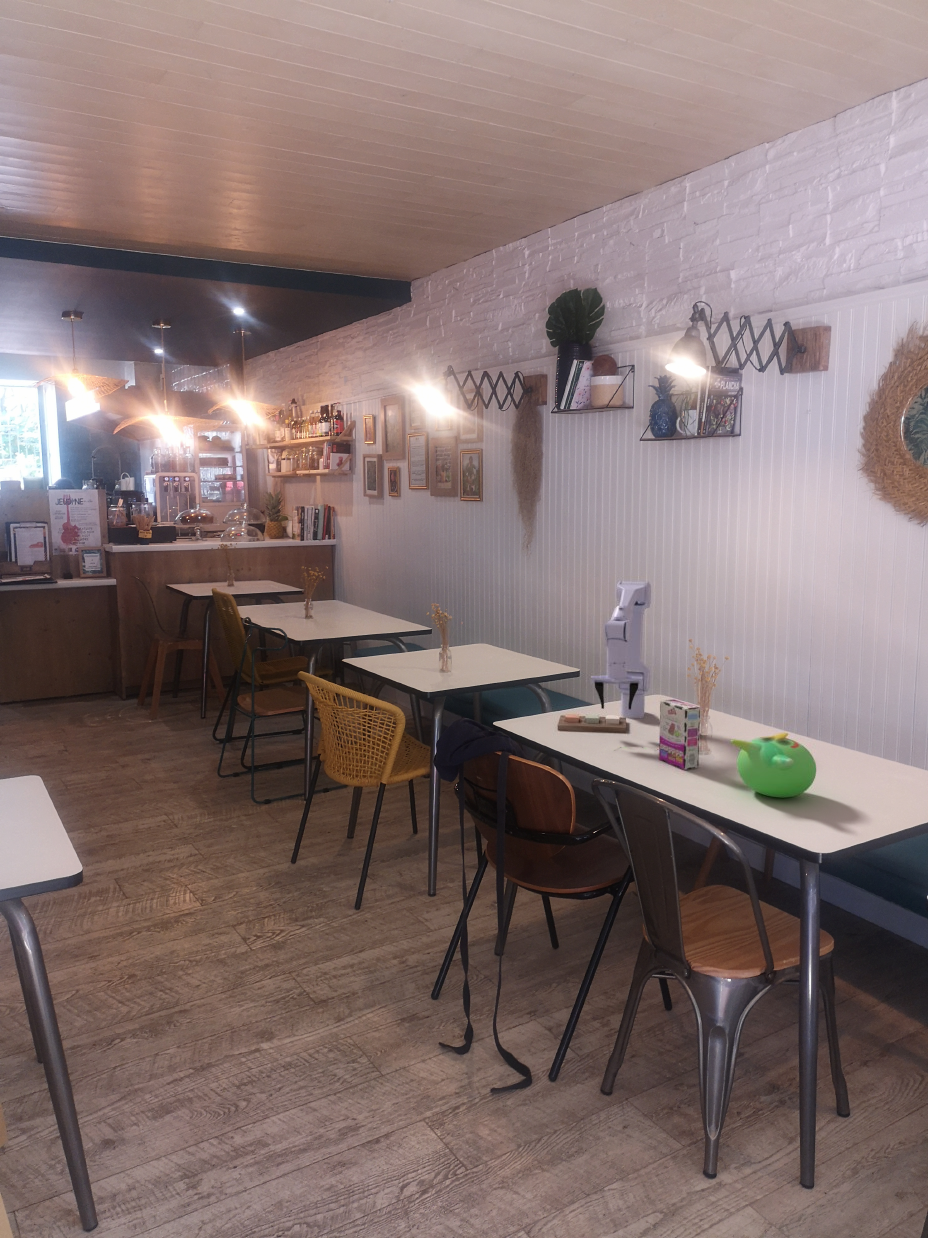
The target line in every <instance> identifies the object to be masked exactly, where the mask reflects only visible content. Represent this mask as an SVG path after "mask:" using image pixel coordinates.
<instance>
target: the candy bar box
mask: <svg viewBox="0 0 928 1238" xmlns="http://www.w3.org/2000/svg"><path fill="white" fill-rule="evenodd" d="M659 701H660V703H659V704H660V706H659V710H660V711H659V743H658V745H659V747H658V751H659V752H658V760H659V761H661V762H664V763H666V764H668V765H671V766H673V767H675V768H678V769H681V770H682V771H688V770H694V769H699V765H700V764H699V763H700V762H699V760H700V759H699V757H700V733H701V732H700V724H701V707H700V706H697V705H693V704H690V703H687V702H684V701H681V700H677V699H665V700H659Z"/></svg>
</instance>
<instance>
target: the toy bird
mask: <svg viewBox="0 0 928 1238" xmlns="http://www.w3.org/2000/svg"><path fill="white" fill-rule="evenodd" d="M788 735H789V733H788V732H782V733H777V734H774V735H770V736H768V735H767V736H762V737H758V738H757V737H756V738H754V739H752V740H750V741H746V740H741V739H731V740H730V743H731V744H732V745H733V746H735V747H737V748H739V749H740V751H739V753H738V756H737V759H736V768H737V773H738V774H739V777H740V778H741V780H742V781H743V782H744V784H745V785H746V786H747V787H749V788H750V789H752V791H755V792H757V793H759V794H761V795H764V796H768V797H772V798H791V797H795V796H798V795H801V794H803V793H804V792H806V791H807V790H809V788H810V787H811V786H812V785H813V784H814V782H815V779H816V775H817V765H816V761H815V758H814V756H813V754H812V753H811V752H810V750H808V748H807V747H805V746H804V745H803V744H801V743H799V742H797V741H796V740H793V739H790V738H787V737H788Z"/></svg>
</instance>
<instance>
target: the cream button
mask: <svg viewBox="0 0 928 1238" xmlns="http://www.w3.org/2000/svg"><path fill="white" fill-rule="evenodd" d="M605 717H606V724H619V717H620V715H612V714H611V715H608V714H607V715H605Z"/></svg>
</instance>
